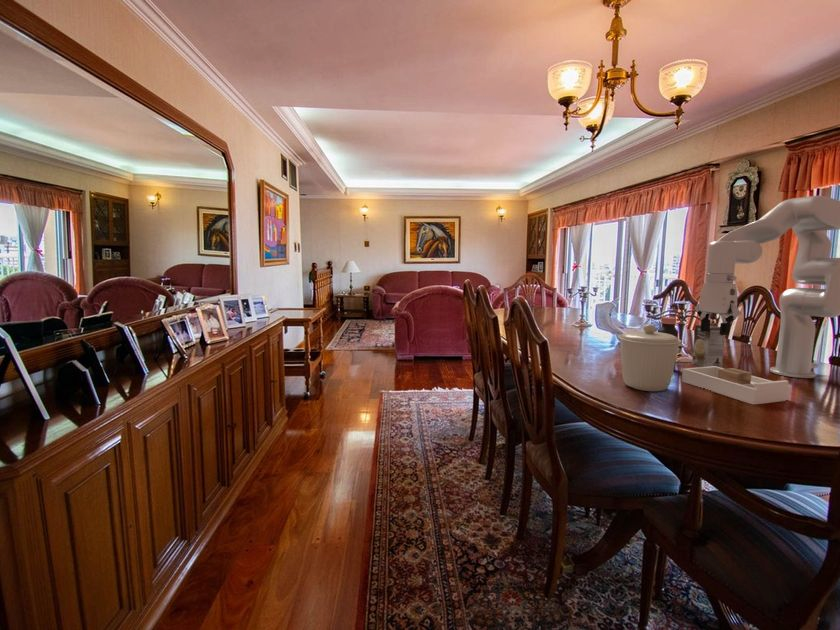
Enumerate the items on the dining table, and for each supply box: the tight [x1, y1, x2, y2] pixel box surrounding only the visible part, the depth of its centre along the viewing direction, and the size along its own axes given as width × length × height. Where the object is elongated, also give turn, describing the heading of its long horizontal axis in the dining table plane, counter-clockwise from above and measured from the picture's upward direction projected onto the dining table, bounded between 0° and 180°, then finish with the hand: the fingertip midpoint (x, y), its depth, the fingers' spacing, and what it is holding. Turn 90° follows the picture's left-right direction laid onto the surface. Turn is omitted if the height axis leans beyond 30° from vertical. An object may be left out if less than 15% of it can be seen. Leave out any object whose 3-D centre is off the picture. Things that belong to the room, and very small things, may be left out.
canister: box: [617, 323, 683, 392], centre depth 135 cm, size 18×18×21 cm
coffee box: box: [691, 324, 726, 368], centre depth 162 cm, size 9×6×16 cm
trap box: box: [681, 366, 791, 405], centre depth 133 cm, size 14×24×6 cm, turn 15°
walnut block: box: [718, 367, 753, 384], centre depth 132 cm, size 6×6×4 cm
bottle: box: [657, 316, 679, 372], centre depth 158 cm, size 7×7×20 cm
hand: (714, 332), depth 138 cm, fingers open, 6 cm apart
